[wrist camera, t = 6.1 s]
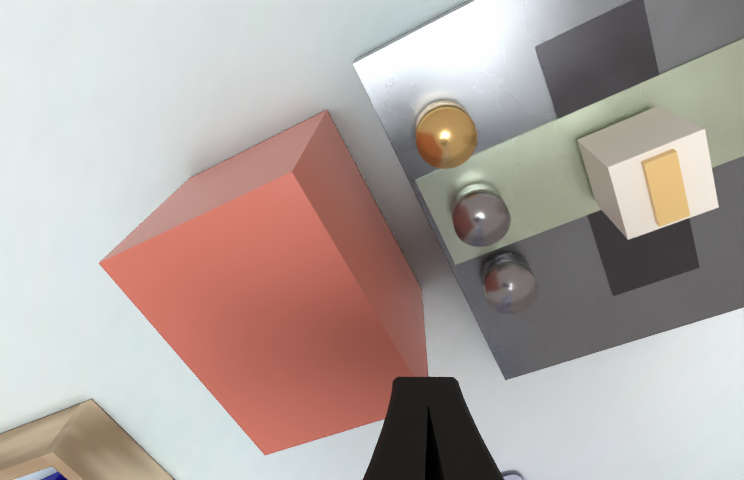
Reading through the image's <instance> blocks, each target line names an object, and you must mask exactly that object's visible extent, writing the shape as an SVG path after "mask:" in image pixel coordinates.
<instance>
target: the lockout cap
mask: <svg viewBox="0 0 744 480" xmlns="http://www.w3.org/2000/svg"><path fill="white" fill-rule="evenodd" d="M99 264H100V265H101V266H102V268H103V269H104V270H105V271H106V272H107V273H108V274H109V276H110V277H111V278H112V279H113V280H114V281H115V283H116V284H117V285H118V286H119V287H120V288H121V289H122V291H123V292H124V293H125V294H126V295H127V296H128V298H129V299H130V300H131V301H132V302H133V303H134V305H135V306H136V307H137V308H138V309H139V310H140V311H141V313H142V314H143V315H144V316H145V317H146V318H147V320H148V321H149V322H150V323H151V324H152V325H153V326H154V328H155V329H156V330H157V331H158V332H159V333H160V335H161V336H162V337H163V338H164V339H165V340H166V341H167V343H168V344H169V345H170V346H171V347H172V348H173V350H174V351H175V352H176V353H177V354H178V355H179V357H180V358H181V359H182V360H183V361H184V362H185V363H186V365H187V366H188V367H189V368H190V369H191V370H192V372H193V373H194V374H195V375H196V376H197V377H198V378H199V380H200V381H201V382H202V383H203V384H204V385H205V387H206V388H207V389H208V390H209V391H210V392H211V394H212V395H213V396H214V397H215V398H216V399H217V400H218V402H219V403H220V404H221V405H222V406H223V407H224V409H225V410H226V411H227V412H228V413H229V414H230V415H231V417H232V418H233V419H234V420H235V421H236V422H237V424H238V425H239V426H240V427H241V428H242V429H243V430H244V432H245V433H246V434H247V435H248V436H249V437H250V439H251V440H252V441H253V442H254V443H255V444H256V446H257V447H258V448H259V449H260V450H261V451H262V452H263V454H264V455H268V454H271V453H274V452H277V451H281V450H284V449H287V448H291V447H294V446H297V445H300V444H304V443H307V442H310V441H314V440H317V439H320V438H323V437H327V436H330V435H333V434H337V433H340V432H343V431H346V430H350V429H353V428H356V427H359V426H363V425H366V424H369V423H373V422H376V421H379V420H382V419H385V417H386V414H387V410H388V406H389V402H390V397H391V392H392V383H393V380H394V379H395V378H397V377H428V365H427V352H426V339H425V325H424V312H423V298H422V289H421V287H420V285H419V283H418V281H417V279H416V278H415V276H414V274H413V272H412V270H411V268H410V266H409V264H408V262H407V260H406V259H405V257H404V255H403V253H402V251H401V249H400V247H399V245H398V243H397V242H396V240H395V238H394V236H393V234H392V232H391V230H390V228H389V226H388V224H387V223H386V221H385V219H384V217H383V215H382V213H381V211H380V209H379V207H378V205H377V204H376V202H375V200H374V198H373V196H372V194H371V192H370V190H369V188H368V187H367V185H366V183H365V181H364V179H363V177H362V175H361V173H360V171H359V169H358V168H357V166H356V164H355V162H354V160H353V158H352V156H351V154H350V152H349V151H348V149H347V147H346V145H345V143H344V141H343V139H342V137H341V135H340V133H339V132H338V130H337V128H336V126H335V124H334V122H333V120H332V118H331V116H330V114H329V113H328V111H327V110H325V111H323V112H321V113H319V114H317V115H315V116H313V117H311V118H309V119H307V120H305V121H303V122H301V123H299V124H297V125H295V126H293V127H291V128H289V129H287V130H285V131H283V132H281V133H279V134H277V135H275V136H273V137H271V138H269V139H267V140H265V141H263V142H261V143H259V144H257V145H255V146H253V147H251V148H249V149H247V150H245V151H243V152H241V153H239V154H237V155H235V156H233V157H231V158H229V159H227V160H225V161H223V162H221V163H219V164H217V165H215V166H213V167H211V168H209V169H207V170H205V171H203V172H201V173H199V174H197V175H195V176H193V177H191V178H189V179H188V180H187V181H186V182H185V183H184V184H183V185H182V186H181V187H179V188H178V189H177V190H176V191H175V192H174V193H173V194H172V195H171V196H170V197H169V198H168V199H167V200H166V201H165V202H163V203H162V204H161V205H160V206H159V207H158V208H157V209H156V210H155V211H154V212H153V213H152V214H151V215H150V216H148V217H147V218H146V219H145V220H144V221H143V222H142V223H141V224H140V225H139V226H138V227H137V228H136V229H135V230H134V231H132V232H131V233H130V234H129V235H128V236H127V237H126V238H125V239H124V240H123V241H122V242H121V243H120V244H119V245H118V246H116V247H115V248H114V249H113V250H112V251H111V252H110V253H109V254H108V255H107V256H106V257H105V258H104V259H103V260H101V261H100V262H99Z"/></svg>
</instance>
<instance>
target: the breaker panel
mask: <svg viewBox="0 0 744 480" xmlns="http://www.w3.org/2000/svg"><path fill="white" fill-rule="evenodd" d="M353 65H354V67H355V69H356V72H357V74H358V76H359V78H360V80H361V82H362V84H363V86H364V88H365V90H366V92H367V94H368V96H369V98H370V101H371V103H372V105H373V107H374V109H375V111H376V113H377V115H378V117H379V119H380V121H381V123H382V125H383V127H384V130H385V132H386V134H387V136H388V138H389V140H390V142H391V144H392V146H393V148H394V150H395V152H396V154H397V156H398V159H399V161H400V163H401V165H402V167H403V169H404V171H405V173H406V175H407V177H408V179H409V181H410V183H411V186H412V188H413V190H414V192H415V194H416V196H417V198H418V200H419V202H420V204H421V206H422V208H423V210H424V212H425V215H426V217H427V219H428V221H429V223H430V225H431V227H432V229H433V231H434V233H435V235H436V237H437V239H438V241H439V244H440V246H441V248H442V250H443V252H444V254H445V256H446V258H447V260H448V262H449V264H450V266H451V268H452V270H453V273H454V275H455V277H456V279H457V281H458V283H459V285H460V287H461V289H462V291H463V293H464V295H465V297H466V299H467V302H468V304H469V306H470V308H471V310H472V312H473V314H474V316H475V318H476V320H477V322H478V324H479V326H480V328H481V331H482V333H483V335H484V337H485V339H486V341H487V343H488V345H489V347H490V349H491V351H492V353H493V355H494V357H495V360H496V362H497V364H498V366H499V368H500V370H501V372H502V374H503V376H504V378H505V380H507V379H511V378H514V377H517V376H521V375H524V374H527V373H530V372H534V371H537V370H540V369H543V368H547V367H550V366H553V365H557V364H560V363H563V362H566V361H570V360H573V359H576V358H579V357H583V356H586V355H589V354H593V353H596V352H599V351H602V350H606V349H609V348H612V347H615V346H619V345H622V344H625V343H629V342H632V341H635V340H638V339H642V338H645V337H648V336H651V335H655V334H658V333H661V332H664V331H668V330H671V329H674V328H678V327H681V326H684V325H687V324H691V323H694V322H697V321H700V320H704V319H707V318H710V317H714V316H717V315H720V314H723V313H727V312H730V311H733V310H736V309H740V308H743V307H744V0H468V1H466V2H464V3H463V4H461V5H459V6H457V7H455V8H453V9H451V10H449V11H447V12H445V13H443V14H441V15H440V16H438V17H436V18H434V19H432V20H430V21H428V22H426V23H424V24H422V25H420V26H418V27H417V28H415V29H413V30H411V31H409V32H407V33H405V34H403V35H401V36H399V37H397V38H395V39H393V40H392V41H390V42H388V43H386V44H384V45H382V46H380V47H378V48H376V49H374V50H372V51H370V52H369V53H367V54H365V55H363V56H361V57H359V58H357V59H355V61H354V63H353ZM657 106H659V107H661V108H663V109H665V110H667V111H669V112H671V113H673V114H675V115H677V116H679V117H682V118H684V119H686V120H688V121H690V122H692V123H694V124H696V125H698V126H700V127H702V128H704V129H705V132H706V138H707V144H708V149H709V155H710V160H711V166H712V172H713V177H714V183H715V189H716V194H717V200H718V206H719V208H716V209H713V210H710V211H707V212H705V213H702V214H699V215H696V216H693V217H691V218H688V219H685V220H682V221H679V222H677V223H674V224H671V225H668V226H665V227H663V228H660V229H657V230H654V231H652V232H649V233H646V234H643V235H640V236H638V237H635V238H632V239H629V240H628V239H627V238H626V237H625V236H624V235H623V233H622V232H621V231H620V230H619V229H618V228H617V227H616V226H615V224H614V223H613V222H612V221H611V220H610V219H609V218H608V217H607V215H606V214H605V213H604V212H603V211H602V210H601V209H600V208H599V206H598V205H597V204H596V201H595V198H594V195H593V191H592V188H591V185H590V181H589V178H588V175H587V172H586V168H585V165H584V162H583V158H582V155H581V152H580V148H579V145H578V142H577V140H578V139H580V138H583V137H585V136H587V135H590V134H592V133H595V132H597V131H599V130H602V129H604V128H607V127H609V126H611V125H614V124H616V123H618V122H621V121H623V120H626V119H628V118H630V117H633V116H635V115H638V114H640V113H642V112H645V111H647V110H649V109H652V108H654V107H657Z"/></svg>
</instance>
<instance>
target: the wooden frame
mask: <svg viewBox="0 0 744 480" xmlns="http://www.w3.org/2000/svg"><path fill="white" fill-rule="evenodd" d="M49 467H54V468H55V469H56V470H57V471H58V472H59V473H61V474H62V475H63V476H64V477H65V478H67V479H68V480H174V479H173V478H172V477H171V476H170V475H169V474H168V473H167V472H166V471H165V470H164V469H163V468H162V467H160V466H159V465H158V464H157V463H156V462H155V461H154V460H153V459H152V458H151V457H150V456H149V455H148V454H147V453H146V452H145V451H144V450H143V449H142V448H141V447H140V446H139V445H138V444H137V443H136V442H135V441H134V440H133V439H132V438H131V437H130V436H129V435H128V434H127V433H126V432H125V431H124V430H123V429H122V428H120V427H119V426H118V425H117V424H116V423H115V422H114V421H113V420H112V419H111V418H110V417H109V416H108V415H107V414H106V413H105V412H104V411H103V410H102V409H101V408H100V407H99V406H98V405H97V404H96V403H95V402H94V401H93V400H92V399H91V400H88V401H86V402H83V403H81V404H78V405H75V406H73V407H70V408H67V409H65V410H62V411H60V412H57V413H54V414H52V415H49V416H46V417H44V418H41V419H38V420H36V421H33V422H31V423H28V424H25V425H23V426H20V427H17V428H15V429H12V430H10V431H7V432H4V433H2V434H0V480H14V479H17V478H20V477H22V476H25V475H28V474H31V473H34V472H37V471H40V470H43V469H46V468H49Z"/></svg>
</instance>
